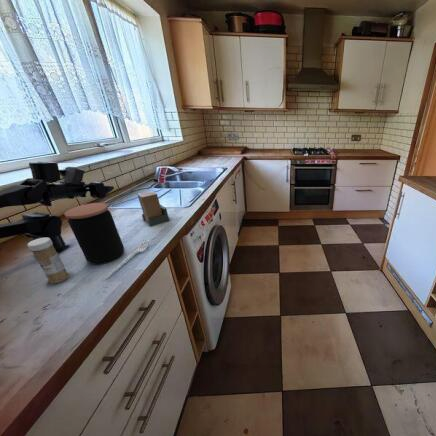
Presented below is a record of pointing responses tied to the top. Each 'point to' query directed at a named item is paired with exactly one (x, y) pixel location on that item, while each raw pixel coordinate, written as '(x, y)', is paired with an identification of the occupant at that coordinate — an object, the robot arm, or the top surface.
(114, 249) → the coffee jar
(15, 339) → the top surface
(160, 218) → the cradle
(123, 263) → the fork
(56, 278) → the sprinkles bottle
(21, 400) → the top surface
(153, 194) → the brown box
